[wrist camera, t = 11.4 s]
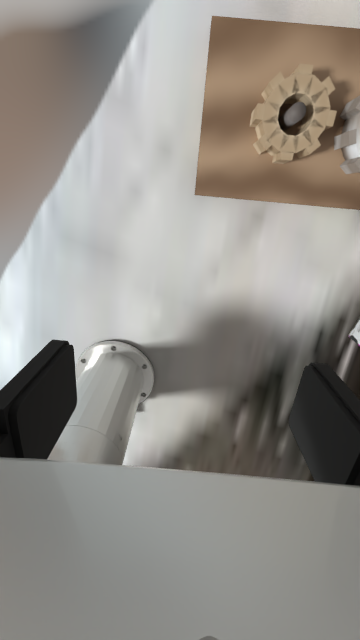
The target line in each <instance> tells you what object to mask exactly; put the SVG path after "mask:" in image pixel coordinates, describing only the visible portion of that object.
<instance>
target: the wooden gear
mask: <svg viewBox="0 0 360 640" xmlns="http://www.w3.org/2000/svg"><path fill="white" fill-rule="evenodd" d="M312 70H313V65H309V64H299V65H298V67H297V68H296V69H295V70H294V72H293V73H292V74H291V75H290V76H289V77H287V78H286V79H284V77H283V75H282V73H281V71H280V72H279V73H278V74H277V75H276V76H275V77H274V78H273V79H272V80H271V81H270V82H269V83H268V85H267V86H266V88H265V89H264V91H263V92H262V94H261V95H262V96H263V98H264V100H265V102H264V103H263V104H260V103H258V104H257V106H256V107H255V109H254V110H253V111H252V114H251V120H250V127H256V128H255V129H256V133H257V137H258V140H257V141H256V142H255V143H254V144H253V146H254V147H255V149H256V151H257V152H258V154H261V153H262V152H264V151H265V150H266V151H267V152H268V153H269V154H270V155H271V156H273V161H272V163H279V164H284V163H287V162H290V161H292V159H293V155H294V154H295V153H296V154H297V156H298V158H301V157H304V156H307V155H310V154H311V153H312V152H313V151H315V150H316V149H317V148H318V147H319V146H321V144H320V142H319V141H318V139H317V138H318V137H319V136H320V134H321V133H322V132H323V131H325V130H327V129H329V128H331V127H333V124H334V120H335V116H336V113H337V111H334V110H330V102H329V97H328V95H329V94H330V93H331V92H332V91H334V90H335V87H334V85H333V83H332V81H331V79H330V77H329V76H328V77H327V78H326V79H325V80H324V81H323V82H321V81H320V80H319V79H318V78H317V77H316V76H315V75H313V74H312ZM296 102H303V103H304V104H305V106H306V114H305V116H304V117H303V118H302V123H301V128H300V130H299V132H298V133H297V134H296V136H293V135H287V134H285V133H284V132H283V131H282V130H281V129H280V126H279V122H278V114H279V109H280V107H281V106H282V105H284V104H285V103H286V104H295V103H296Z"/></svg>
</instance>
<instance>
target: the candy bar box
mask: <svg viewBox="0 0 360 640" xmlns="http://www.w3.org/2000/svg"><path fill="white" fill-rule="evenodd" d="M349 337H350V338H351V339H352V340H353V341H355V342H356V343H357V344H358V345H359V346H360V316H359V318H358V320H357V322H356V323H355V325H354V327H353V328H352V330H351V332H350V333H349Z"/></svg>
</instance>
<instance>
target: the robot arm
mask: <svg viewBox="0 0 360 640" xmlns="http://www.w3.org/2000/svg"><path fill="white" fill-rule="evenodd" d="M76 380H77V381H76ZM153 384H154V371H153V368H152V365H151V363H150V361H149V360H148V358H147V357H146V356H145V355H144V354H143V353H142V352H141V351H139V350H138V349H137V348H135V347H133V346H131V345H129V344H126V343H123V342H118V341H104V342H99V343H96V344H94V345H92V346H90V347H89V348H87V349H86V350H85V351H84V352H83V353H82V355H81V356H80V357H79V359H78V361H77V364H76V369H75V361H74V348H73V346H72V345H69V342H68V341H61V340H52V341H50V342H49V343H48V344H47V345H46V346H45V347H44V348H43V349H42V350H41V351H40V352H39V353H38V354H37V355H36V356H35V357H34V358H33V359H32V360H31V361H30V362H29V363H28V364H27V365H26V366H25V367H24V368H23V369H22V370H21V371H20V372H19V373H18V374H17V375H16V376H15V377H14V378H13V379H12V380H11V381H10V382H9V383H8V384H6V385H5V386H4V387H3V388H2V389H1V390H0V640H360V400H359V399H358V398H357V397H356V396H355V394H354V393H353V392H352V391H351V390H350V389H349V388H348V387H347V385H346V384H345V383H344V382H343V381H342V380H341V379H340V378H339V376H338V375H337V374H336V373H335V372H334V371H333V370H332V369H331V367H330V366H329V365H328V364H323V363H310V364H309V366H306V367H305V368H304V371H303V374H302V378H301V381H300V384H299V387H298V391H297V394H296V397H295V400H294V404H293V407H292V410H291V413H290V417H289V426H290V429H291V431H292V433H293V435H294V437H295V439H296V442H297V444H298V446H299V448H300V450H301V452H302V454H303V457H304V459H305V461H306V463H307V465H308V467H309V470H310V472H311V474H312V476H313V478H314V480H315V482H313V481H301V480H290V479H279V478H268V477H257V476H246V475H234V474H223V473H211V472H199V471H187V470H175V469H163V468H151V467H138V466H125V465H122V464H123V460H124V456H125V452H126V449H127V445H128V441H129V437H130V433H131V430H132V426H133V422H134V418H135V415H136V411H137V407H138V404H139V403H141V402H143V401H144V400H145V399H146V398H147V397H148V395H149V394H150V393H151V390H152V388H153Z"/></svg>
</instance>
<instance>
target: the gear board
mask: <svg viewBox="0 0 360 640" xmlns="http://www.w3.org/2000/svg"><path fill="white" fill-rule="evenodd" d="M299 64H309V65H313V70H312V74H313V75H315V76H316V77H317V78H318V79H319V80H320V81H321V82H323V81H324V80H325V79H326V78H327V77H328V76H329V77H330V79H331V81H332V83H333V85H334V87H335V90H334V91H332V92H331V93H330V94H329V95H328V97H329V102H330V110H334V111H337V113H336V116H335V120H334V124H333V127H331V128H329V129H327V130H325V131H323V132H322V133H321V134H320V136H319V137H318V138H317V139H318V141H319V142H320V144H321V146H319V147H318V148H317V149H316V150H315V151H313V152H312V153H311V154H310V155H307V156H304V157H301V158H298V156H297V154H296V153H295V154H294V155H293V159H292V161H290V162H287V163H284V164H279V163H272V161H273V156H271V155H270V154H269V153H268V152H267V151H266V150H265V151H264V152H262V153H261V154H258V152H257V151H256V149H255V147H254V146H253V144H254V143H255V142H256V141H257V140H258V137H257V133H256V129H255V128H256V127H250V120H251V114H252V111H253V110H254V109H255V107H256V106H257V104H258V103H260V104H263V103H264V102H265V100H264V98H263V96H262V95H261V94H262V92H263V91H264V89H265V88H266V86H267V85H268V83H269V82H270V81H271V80H272V79H273V78H274V77H275V76H276V75H277V74H278V73H279V72H280V71H281V73H282V75H283V77H284V79H286V78H287V77H289V76H290V75H291V74H292V73H293V72H294V70H295V69H296V68H297V67H298V65H299ZM305 114H306V106H305V104H304V103H303V102H296V103H295V104H286V103H285V104H284V105H282V106H281V107H280V109H279V114H278V122H279V126H280V129H281V130H282V131H283V132H284V133H285V134H287V135H293V136H296V134H297V133H298V132H299V130H300V128H301V123H302V118H303V117H304V116H305ZM195 195H202V196H213V197H224V198H235V199H246V200H257V201H268V202H279V203H289V204H300V205H311V206H322V207H333V208H344V209H355V210H360V29H357V28H345V27H334V26H322V25H311V24H299V23H288V22H276V21H265V20H253V19H242V18H231V17H219V16H212V21H211V31H210V41H209V52H208V62H207V73H206V83H205V94H204V104H203V115H202V125H201V135H200V146H199V156H198V167H197V177H196V188H195Z"/></svg>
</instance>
